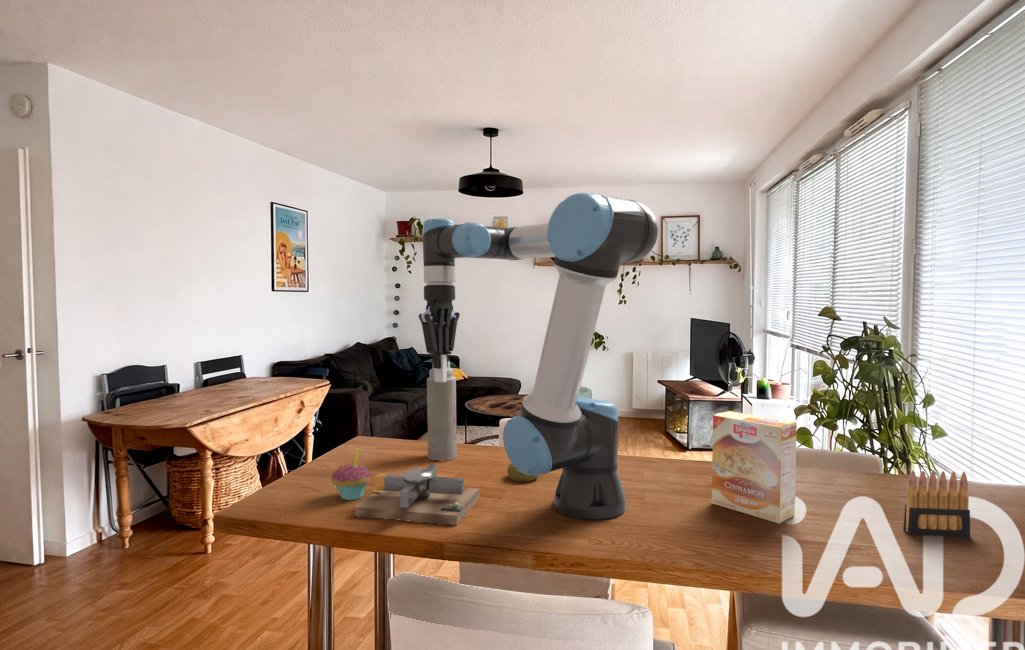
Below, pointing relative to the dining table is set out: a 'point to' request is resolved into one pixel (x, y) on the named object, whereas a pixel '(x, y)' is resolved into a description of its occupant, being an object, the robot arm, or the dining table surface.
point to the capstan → (419, 484)
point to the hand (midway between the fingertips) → (440, 381)
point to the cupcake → (351, 479)
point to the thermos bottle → (441, 416)
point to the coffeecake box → (754, 465)
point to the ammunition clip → (937, 506)
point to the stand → (419, 507)
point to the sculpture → (519, 474)
